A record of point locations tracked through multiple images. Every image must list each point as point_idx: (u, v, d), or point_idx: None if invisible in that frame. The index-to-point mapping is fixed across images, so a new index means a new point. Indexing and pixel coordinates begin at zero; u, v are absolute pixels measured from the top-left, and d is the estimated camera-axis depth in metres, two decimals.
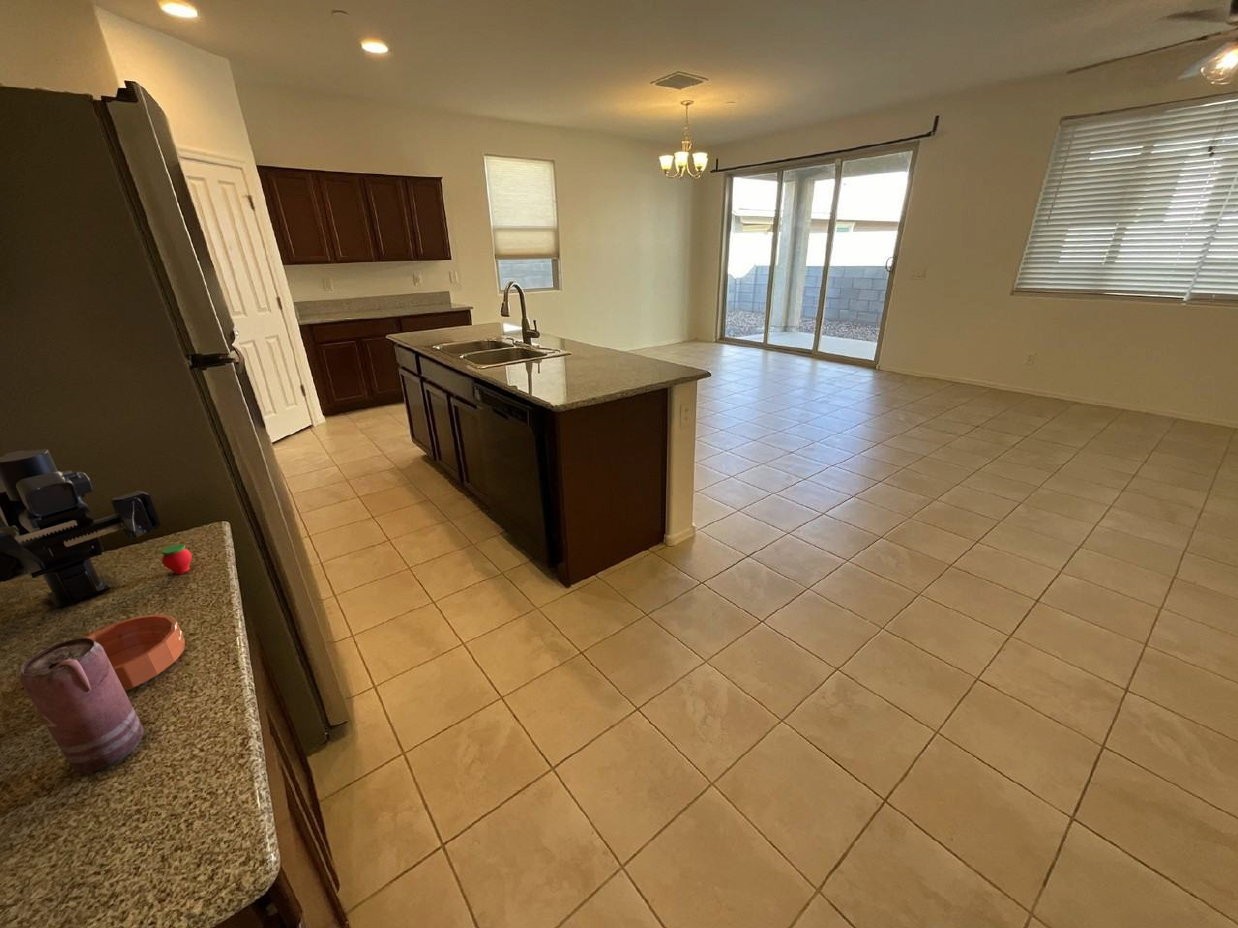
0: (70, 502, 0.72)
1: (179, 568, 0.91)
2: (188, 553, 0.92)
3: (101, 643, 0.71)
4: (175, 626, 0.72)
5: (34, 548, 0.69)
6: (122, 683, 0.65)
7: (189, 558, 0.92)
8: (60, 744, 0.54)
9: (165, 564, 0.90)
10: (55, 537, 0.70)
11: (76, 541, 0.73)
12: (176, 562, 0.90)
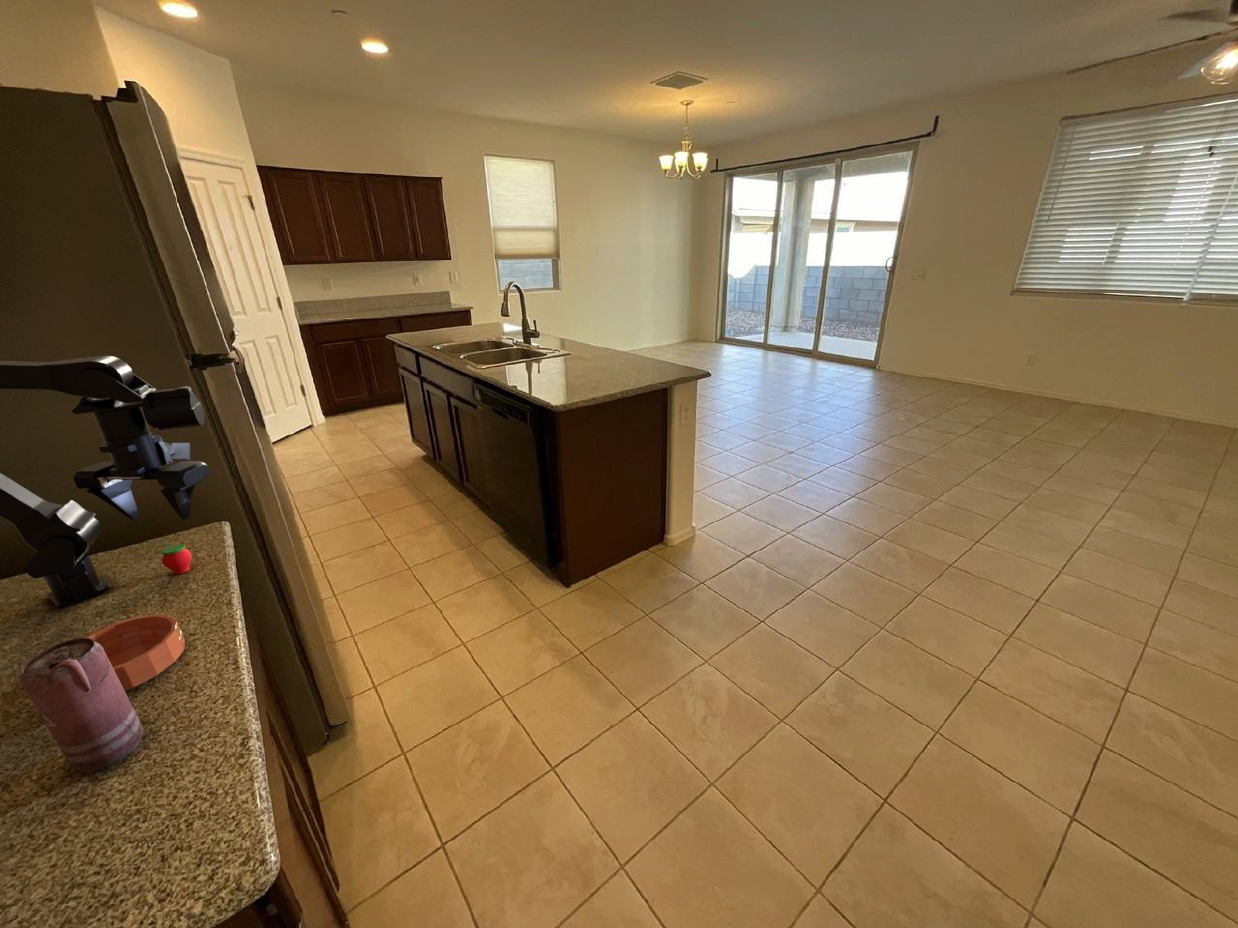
0: None
1: (179, 568, 0.91)
2: (188, 553, 0.92)
3: (101, 643, 0.71)
4: (175, 626, 0.72)
5: None
6: (122, 683, 0.65)
7: (189, 558, 0.92)
8: (60, 744, 0.54)
9: (165, 564, 0.90)
10: None
11: None
12: (176, 562, 0.90)
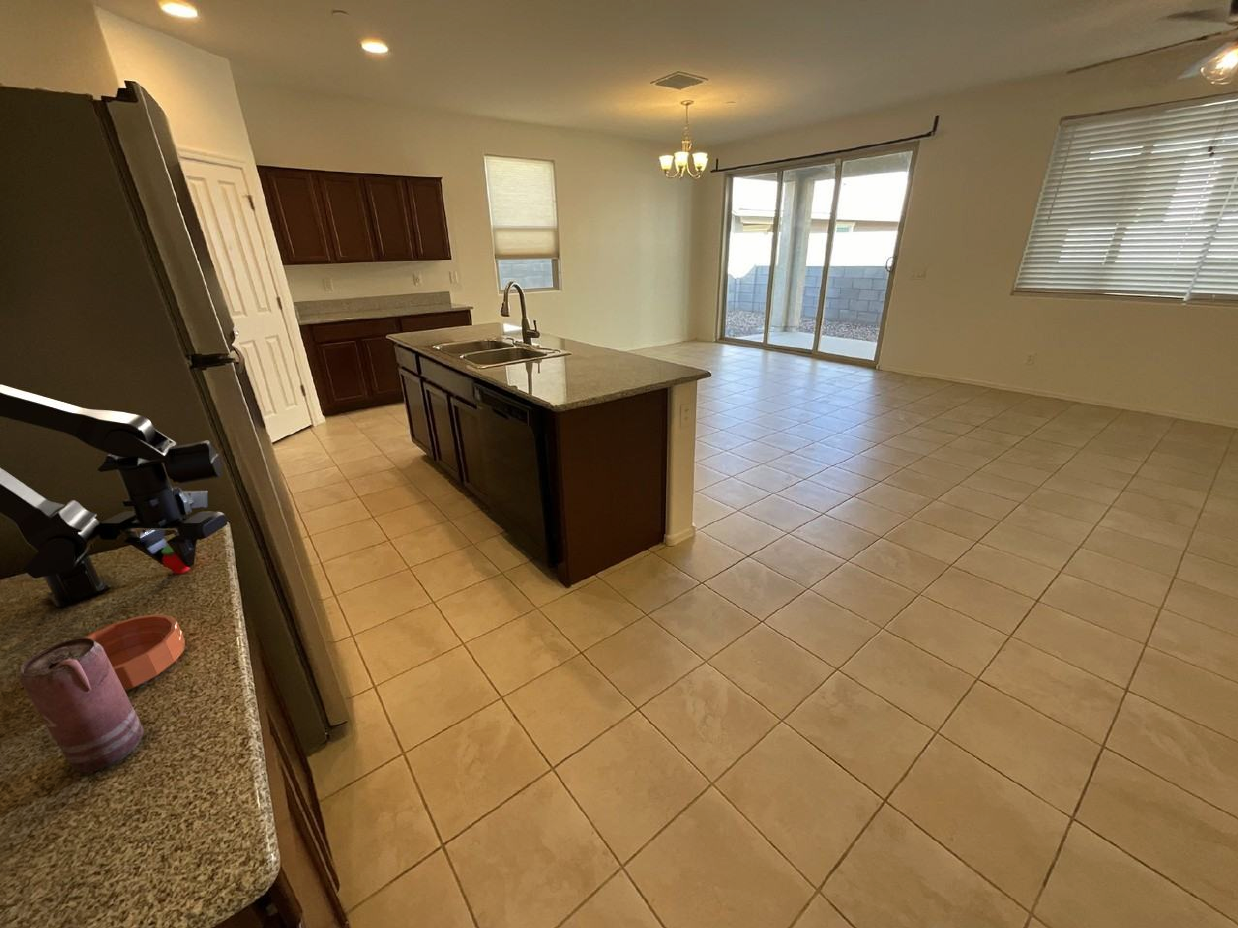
0: None
1: (179, 568, 0.91)
2: None
3: (101, 643, 0.71)
4: (175, 626, 0.72)
5: None
6: (122, 683, 0.65)
7: None
8: (60, 744, 0.54)
9: (165, 564, 0.90)
10: None
11: None
12: (176, 562, 0.90)
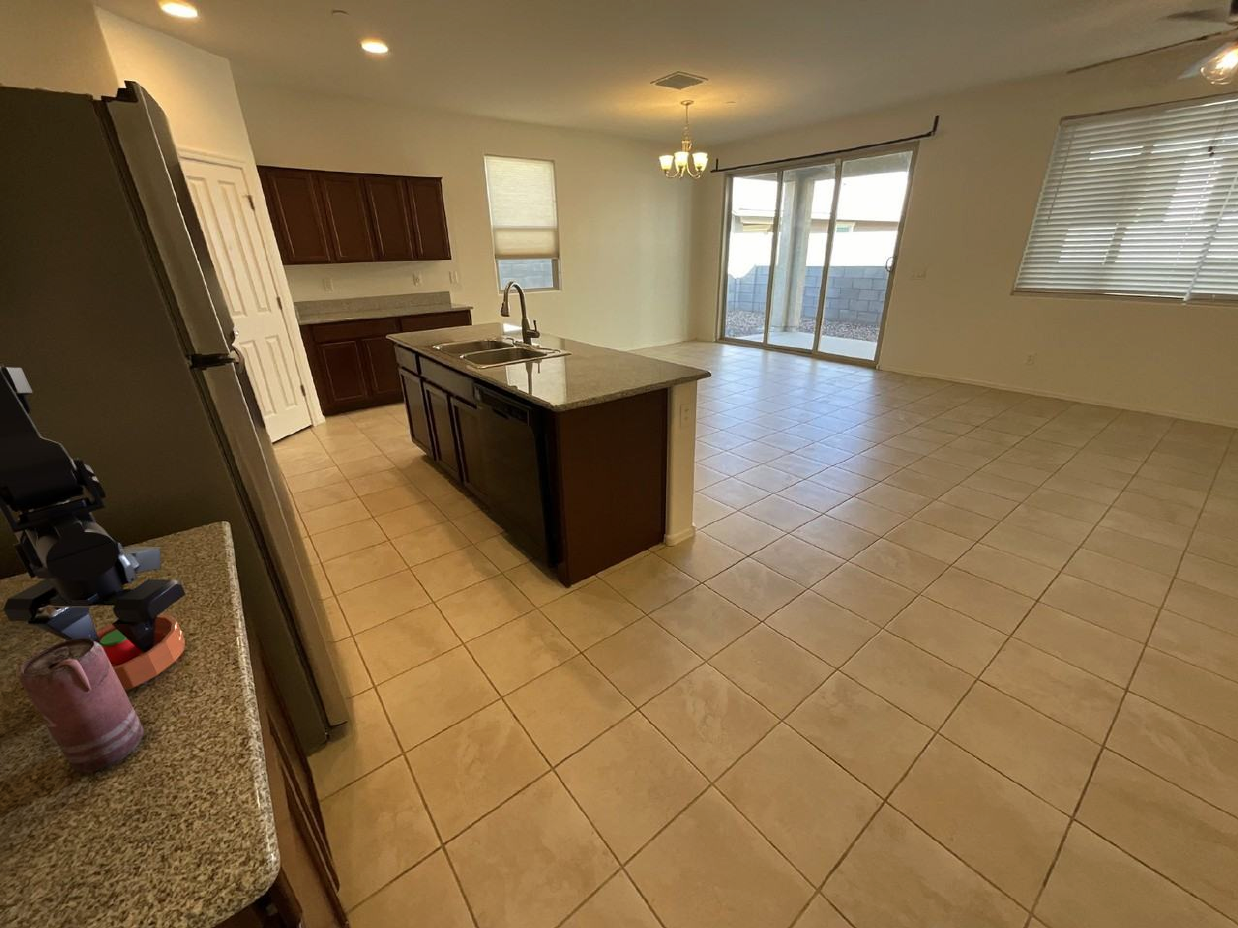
0: None
1: (124, 662, 0.68)
2: None
3: None
4: (175, 626, 0.72)
5: None
6: (122, 683, 0.65)
7: None
8: (60, 744, 0.54)
9: None
10: None
11: (91, 605, 0.64)
12: (120, 656, 0.67)
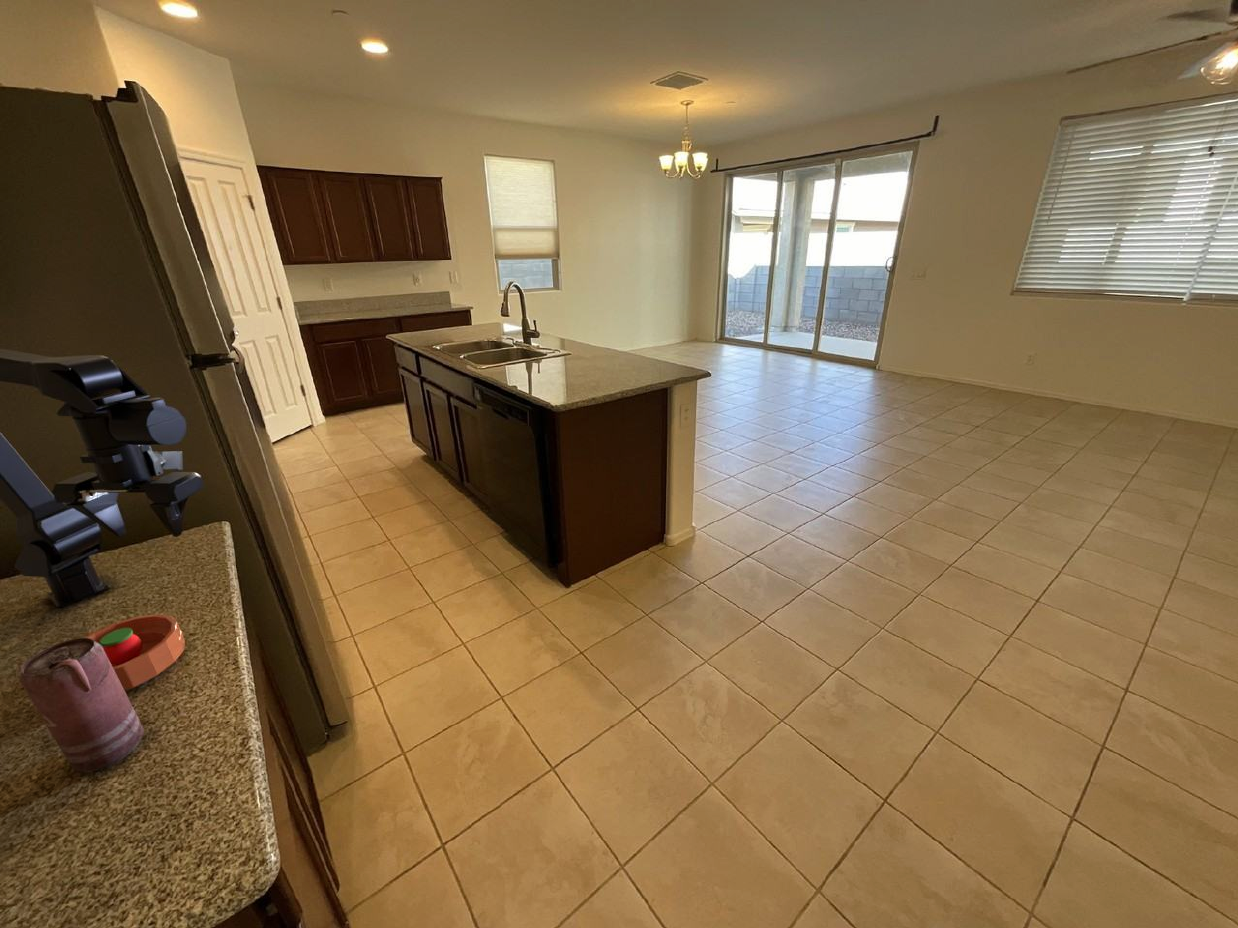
0: None
1: (124, 662, 0.68)
2: (137, 641, 0.69)
3: None
4: (175, 626, 0.72)
5: None
6: (122, 683, 0.65)
7: (138, 647, 0.69)
8: (60, 744, 0.54)
9: None
10: None
11: None
12: (120, 656, 0.67)
